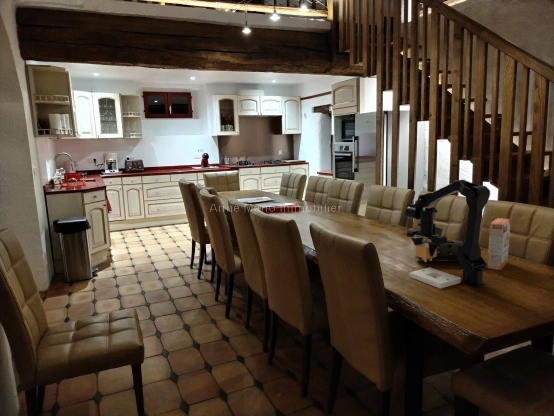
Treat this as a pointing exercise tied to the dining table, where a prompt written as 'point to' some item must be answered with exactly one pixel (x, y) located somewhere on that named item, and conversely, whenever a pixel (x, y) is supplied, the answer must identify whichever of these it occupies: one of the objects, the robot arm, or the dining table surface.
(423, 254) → the plug
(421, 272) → the socket plate
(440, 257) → the muzzle brake
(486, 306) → the dining table surface
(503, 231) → the cracker box
